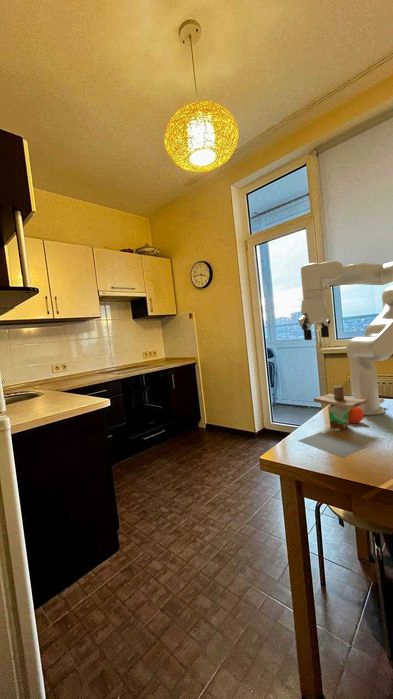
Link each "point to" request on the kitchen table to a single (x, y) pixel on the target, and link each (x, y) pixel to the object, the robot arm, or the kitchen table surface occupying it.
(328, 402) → the lid
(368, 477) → the kitchen table surface
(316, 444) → the mat
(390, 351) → the robot arm
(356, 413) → the clementine
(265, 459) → the kitchen table surface
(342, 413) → the food container
